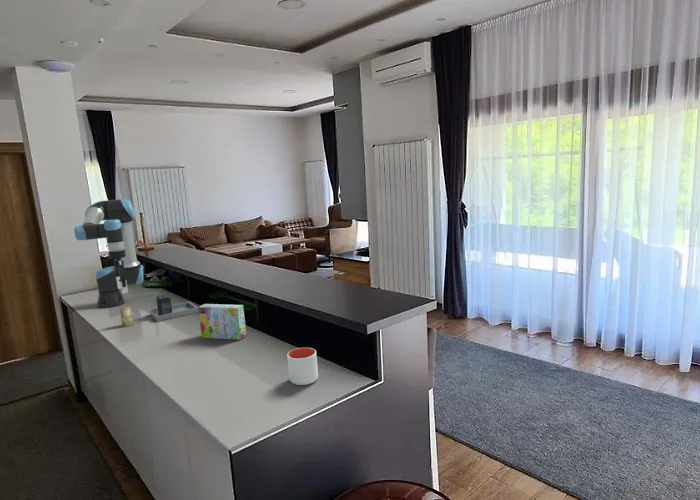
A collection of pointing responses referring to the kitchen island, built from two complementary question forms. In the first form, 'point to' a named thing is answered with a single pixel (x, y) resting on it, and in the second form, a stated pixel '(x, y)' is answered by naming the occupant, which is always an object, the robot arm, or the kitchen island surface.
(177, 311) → the grey tray
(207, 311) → the snack box
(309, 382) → the cup
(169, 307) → the box
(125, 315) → the canister
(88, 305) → the kitchen island surface
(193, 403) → the kitchen island surface
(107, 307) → the robot arm
